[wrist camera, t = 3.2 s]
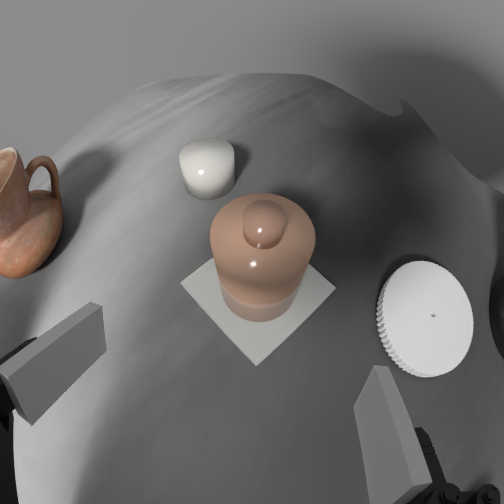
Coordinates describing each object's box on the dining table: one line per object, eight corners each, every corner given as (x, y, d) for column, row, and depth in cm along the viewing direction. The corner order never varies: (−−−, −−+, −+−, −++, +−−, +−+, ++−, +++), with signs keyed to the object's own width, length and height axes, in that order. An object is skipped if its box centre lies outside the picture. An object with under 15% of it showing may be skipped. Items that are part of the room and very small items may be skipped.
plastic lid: (429, 256, 33) (439, 246, 31) (475, 342, 26) (486, 337, 24) (352, 294, 30) (360, 285, 28) (403, 401, 24) (415, 399, 22)
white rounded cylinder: (214, 157, 41) (211, 131, 36) (245, 181, 38) (245, 154, 34) (175, 180, 38) (169, 154, 34) (205, 208, 36) (200, 180, 31)
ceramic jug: (11, 311, 27) (-57, 262, 15) (-6, 249, 32) (-53, 198, 20) (97, 230, 34) (48, 153, 22) (66, 183, 39) (31, 118, 26)
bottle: (260, 240, 33) (265, 162, 22) (311, 287, 30) (342, 220, 19) (205, 283, 30) (184, 213, 20) (257, 337, 27) (262, 292, 17)
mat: (260, 223, 35) (260, 221, 34) (335, 289, 30) (336, 287, 30) (181, 283, 30) (180, 282, 30) (256, 366, 26) (256, 365, 26)
